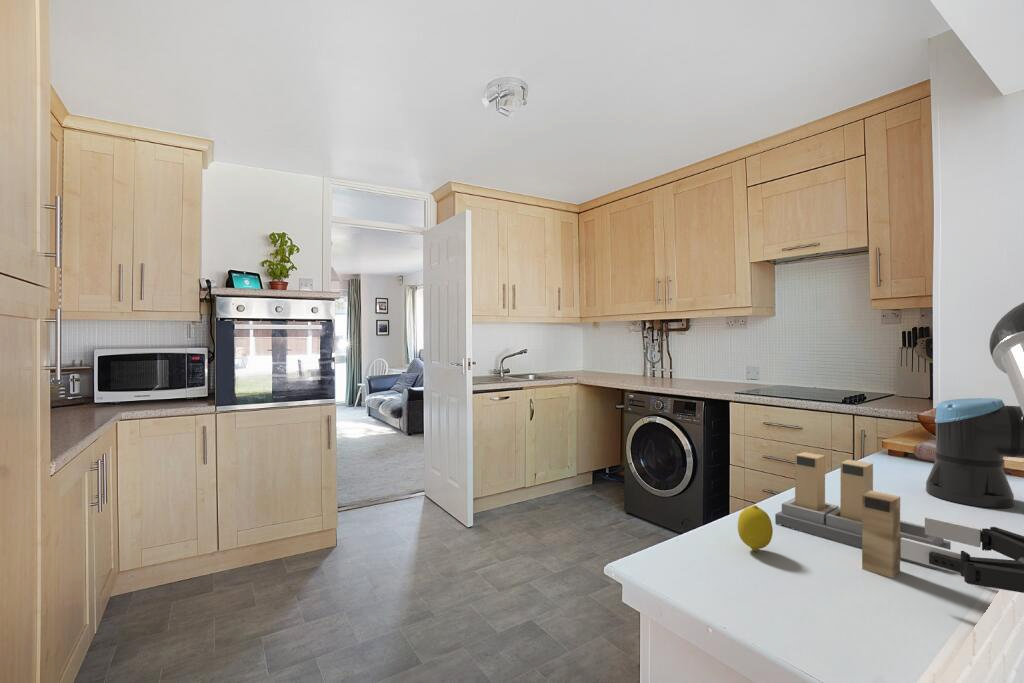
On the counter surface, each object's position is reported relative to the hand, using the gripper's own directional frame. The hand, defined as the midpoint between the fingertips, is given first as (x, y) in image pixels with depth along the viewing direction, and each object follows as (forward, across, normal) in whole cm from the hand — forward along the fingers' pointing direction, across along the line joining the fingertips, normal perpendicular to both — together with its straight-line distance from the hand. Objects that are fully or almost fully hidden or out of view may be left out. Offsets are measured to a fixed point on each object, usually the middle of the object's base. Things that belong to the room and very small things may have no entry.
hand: (913, 535), depth 75 cm
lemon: (+20, -8, -7) cm, 23 cm away
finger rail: (+11, +13, -7) cm, 18 cm away
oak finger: (+4, +1, -7) cm, 8 cm away
